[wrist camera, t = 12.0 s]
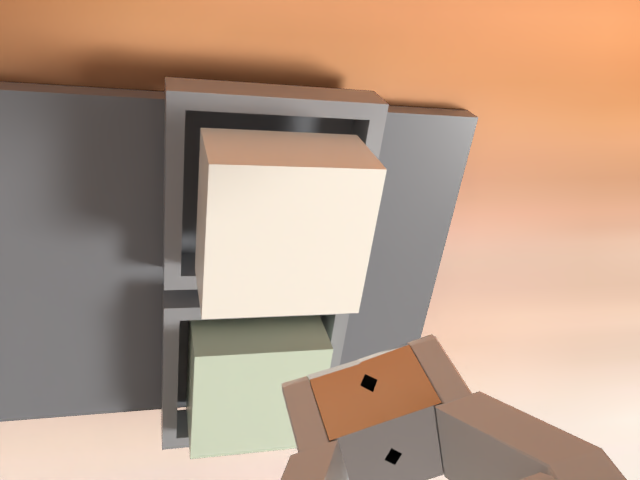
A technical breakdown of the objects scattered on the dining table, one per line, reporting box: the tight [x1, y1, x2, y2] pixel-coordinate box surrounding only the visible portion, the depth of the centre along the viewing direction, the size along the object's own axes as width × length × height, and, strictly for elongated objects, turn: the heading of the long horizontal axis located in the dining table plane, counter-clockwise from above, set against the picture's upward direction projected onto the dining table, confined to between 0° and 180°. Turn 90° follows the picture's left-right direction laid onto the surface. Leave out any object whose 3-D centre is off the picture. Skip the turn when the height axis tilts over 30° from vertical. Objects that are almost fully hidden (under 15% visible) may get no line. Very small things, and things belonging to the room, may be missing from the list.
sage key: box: [186, 315, 333, 459], centre depth 21 cm, size 4×4×3 cm
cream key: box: [195, 128, 387, 319], centre depth 17 cm, size 4×4×3 cm
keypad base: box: [0, 77, 478, 450], centre depth 19 cm, size 13×28×2 cm, turn 82°
